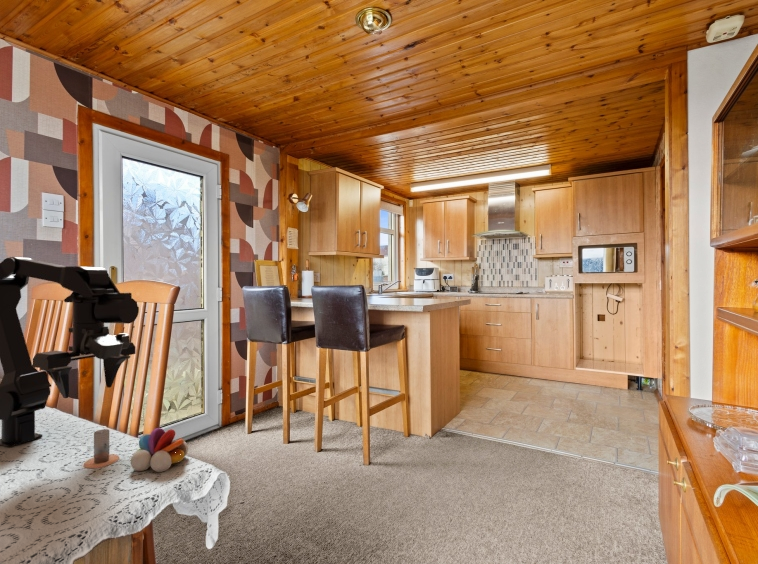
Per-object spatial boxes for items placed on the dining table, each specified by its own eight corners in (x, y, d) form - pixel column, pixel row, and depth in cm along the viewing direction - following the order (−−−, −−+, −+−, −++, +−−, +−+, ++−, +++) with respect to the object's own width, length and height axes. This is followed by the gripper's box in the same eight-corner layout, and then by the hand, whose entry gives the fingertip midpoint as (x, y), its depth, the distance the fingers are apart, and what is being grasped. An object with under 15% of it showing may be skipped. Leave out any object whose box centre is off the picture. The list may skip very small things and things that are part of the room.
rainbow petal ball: (169, 476, 75) (170, 438, 75) (122, 473, 76) (122, 436, 76) (194, 456, 84) (194, 422, 84) (151, 454, 85) (151, 420, 85)
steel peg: (90, 463, 80) (90, 433, 80) (100, 457, 83) (100, 429, 82) (103, 463, 80) (103, 434, 80) (112, 458, 82) (112, 429, 82)
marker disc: (76, 465, 79) (76, 464, 79) (106, 453, 85) (106, 452, 85) (96, 470, 77) (96, 469, 77) (125, 457, 83) (125, 457, 83)
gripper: (66, 328, 77) (65, 409, 77) (152, 320, 94) (151, 385, 94) (31, 326, 81) (30, 402, 81) (119, 318, 99) (119, 381, 99)
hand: (88, 392), depth 89 cm, fingers open, 9 cm apart
